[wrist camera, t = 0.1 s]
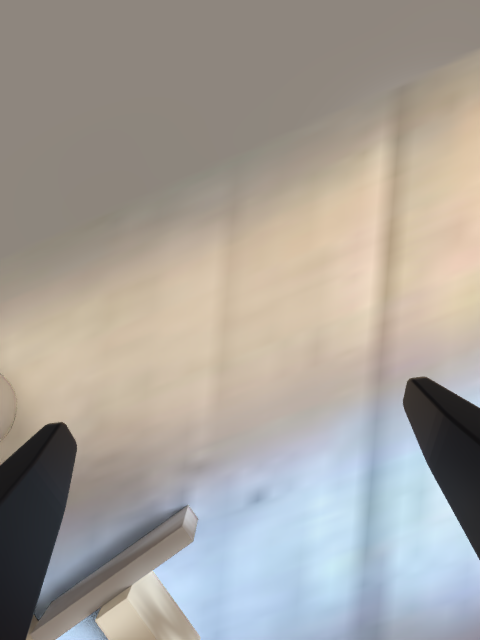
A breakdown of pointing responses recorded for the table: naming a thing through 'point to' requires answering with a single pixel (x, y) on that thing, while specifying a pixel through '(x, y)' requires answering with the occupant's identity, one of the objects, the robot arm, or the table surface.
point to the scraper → (128, 591)
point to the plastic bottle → (6, 406)
